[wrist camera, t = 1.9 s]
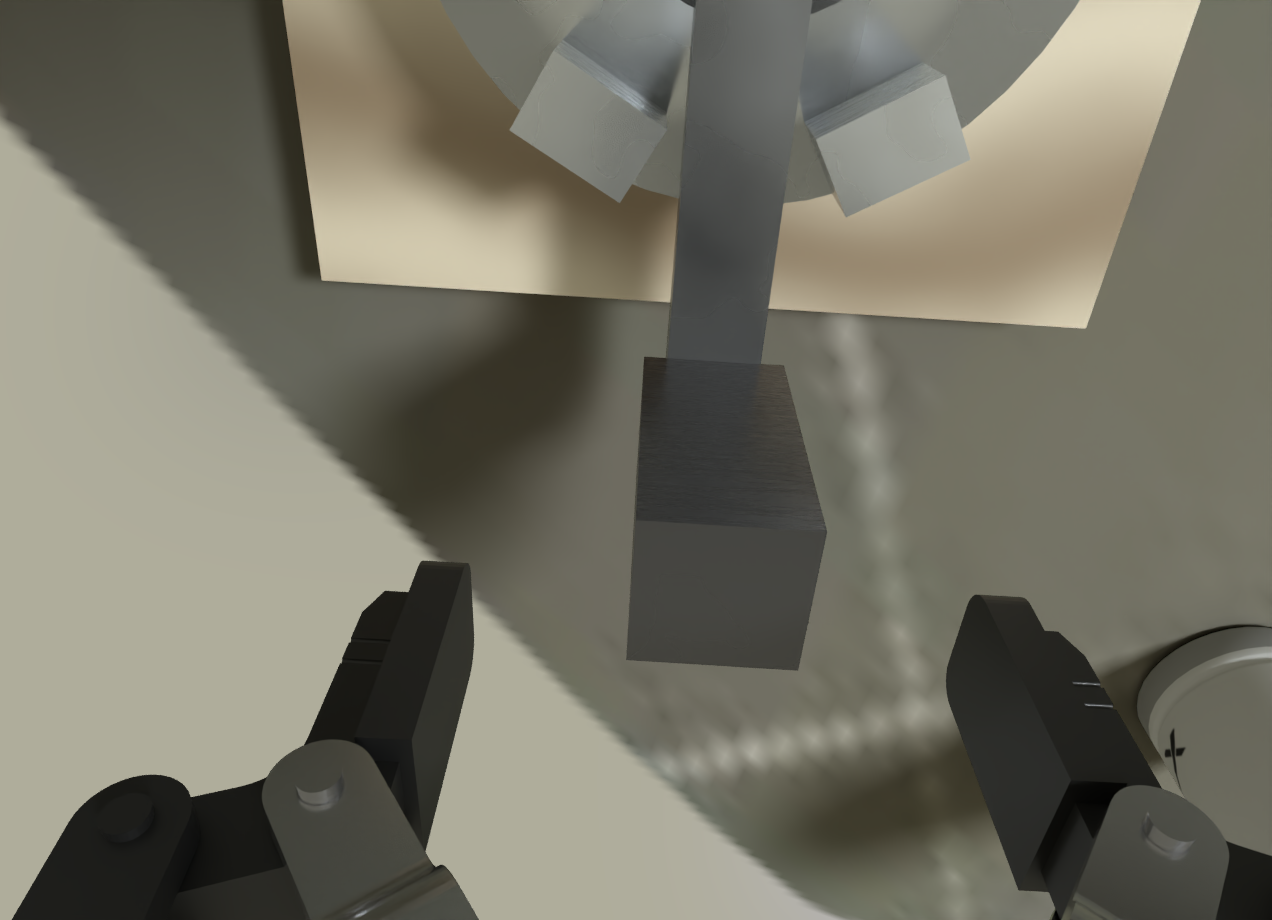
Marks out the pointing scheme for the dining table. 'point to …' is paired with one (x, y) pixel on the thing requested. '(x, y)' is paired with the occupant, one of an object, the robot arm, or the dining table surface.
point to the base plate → (646, 221)
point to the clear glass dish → (741, 243)
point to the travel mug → (1218, 728)
